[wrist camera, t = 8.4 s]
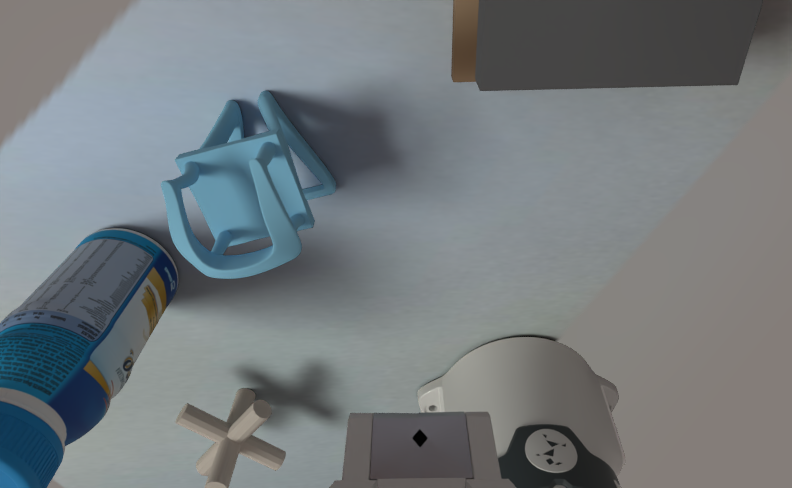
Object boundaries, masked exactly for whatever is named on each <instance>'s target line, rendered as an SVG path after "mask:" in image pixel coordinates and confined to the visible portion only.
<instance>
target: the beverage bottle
mask: <svg viewBox="0 0 792 488" xmlns="http://www.w3.org/2000/svg"><path fill="white" fill-rule="evenodd" d="M177 287H178V271H177V268H176V265H175V263H174V261H173V259H172V258H171V256H170V255H169V253H168V252H167V251H166V250H165V249H164V248H163V247H162V246H161V245H160V244H159V243H157V242H156V241H154V240H153V239H151V238H150V237H148V236H146V235H144V234H141V233H139V232H136V231H133V230H128V229H121V228H110V229H104V230H100V231H97V232H95V233H92V234H91V235H89V236H88V237H86V238H85V239H84V240H83V241H82V242H81V243H80V244H79V245H78V246H77V247H76V249H75V250H74V251H73V252H72V253H71V254H70V255H69V256H68V257H67V258H66V259H65V261H64V262H63V263H62V264H61V265H60V266H59V267H58V268H57V269H56V270H55V271H54V272H53V273H52V274H51V275H50V276H49V277H48V278H47V279H46V280H45V281H44V282H43V283H42V284H41V285H40V286H39V287H38V288H37V289H36V290H35V291H34V292H33V293H32V294H31V295H30V296H29V297H28V298H27V300H26V301H25V302H24V303H23V304H22V305H21V306H20V307H18V308H17V309H15V310H14V311H12V312H11V313H10V314H9V315H8V316H7V317H6V318H5V319H4V320H3V321H2V322H1V323H0V488H47V486H48V484H49V483H50V481H51V479H52V478H53V476H54V475H55V472H56V471H57V469H58V467H59V466H60V464H61V462H62V459H63V455H64V451H65V446H66V445H68V444H70V443H72V442H74V441H75V440H77V439H79V438H80V437H82V436H83V435H85V434H86V433H87V432H89V431H90V430H91V429H92V428H93V427H94V426H95V425H96V424H98V423H99V421H100V420H101V419H102V418H103V417H104V415H105V414H106V412H107V410H108V408H109V405H110V400H111V399H112V398H113V397H115V396H116V395H117V394H118V393H119V392H120V390H121V389H122V388H123V386H124V385H125V383H126V382H127V380H128V378H129V376H130V374H131V371H132V367H133V365H134V363H135V362H136V360H137V358H138V356H139V355H140V353H141V351H142V349H143V347H144V346H145V344H146V342H147V340H148V339H149V337H150V335H151V333H152V332H153V330H154V328H155V326H156V325H157V323H158V321H159V319H160V318H161V316H162V314H163V313H164V311H165V309H166V307H167V306H168V305H169V303H170V302H171V300H172V298H173V297H174V295H175V293H176V291H177Z"/></svg>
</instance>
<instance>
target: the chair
mask: <svg viewBox="0 0 792 488" xmlns="http://www.w3.org/2000/svg"><path fill="white" fill-rule="evenodd" d="M258 106H259V109H260V112H261V114H262V116H263V118H264V121H265V123H266V125H267V127H268V130H269V131H268V132H264V133H260V134H257V135H253V136H250V137H247V138H244V128H243V120H242V115H241V110H240V108H239V105H238V104H237V103H236V102H235V101H233V100H229V101H227V103H226V105H225V107H224V109H223V111H222V113H221V114H220V116H219V118H218V120H217V121H216V123H215V125H214V127H213V128H212V130H211V132H210V133H209V135H208V137H207V138H206V140H205V141H204V143H203V144H202V146H201V147H200V149H198V150H194V151H191V152H187V153H183V154H180V155H179V156H178V157H177V158H176V159H175V162H176V164H177V166H178V167H179V169H180V171H181V173H182V176H180V177H178V178H176V179H174V180H168V181H163V182H162V183H161V187H162V191H163V194H164V198H165V202H166V209H167V217H168V224H169V230H170V234H171V237H172V240H173V243H174V244H175V246H176V248H177V250H178V251H179V252H180V253H181V254H182V256H183V257H184V258H185V259H187V260H188V261H189V262H190V263H191V264H192V265H193V266H195V267H196V268H197V269H198V270H199V271H200V272H202V273H203V274H205V275H206V276H209V277H212V278H222V279H234V278H243V277H249V276H253V275H256V274H260V273H262V272H265V271H268V270H271V269H273V268H275V267H278V266H280V265H282V264H284V263H287V262H289V261H291V260H293V259H294V258H296V257H297V256H298V255H299V254H300V252H301V249H302V244H301V241H300V238H299V236H298V234H297V231H299V230H304V229H308V228H313V225H314V222H315V220H314V218H313V215H312V212H311V210H310V207H309V205H308V202H307V200H310V199H314V198H318V197H322V196H326V195H331V194H333V193H334V192H335V190H336V182H335V180H334V178H333V176H332V175H331V173H330V172H329V170H328V169H327V168H326V167H325V165H324V164H323V163H322V161H321V160H320V159H319V157H318V156H317V155H316V154H315V152H314V151H313V150H312V149H311V147H310V146H309V145H308V144H307V142H306V141H305V140H304V139H303V137H302V136H301V135H300V134H299V132H298V131H297V130H296V128H295V127H294V126H293V125H292V123H291V122H290V121H289V119H288V118H287V117H286V115H285V114H284V112H283V111H282V110H281V108H280V107H279V105H278V103H277V102H276V100H275V99H274V97H273V96H272V94H271V93H270V92H268V91H263V92H261V94H260V96H259V99H258ZM228 140H229V143H227V142H228ZM288 145H289V147H290V148H291V149H292V150H293V151H294V152H295V153H296V155H297V156H298V157H299V158H300V159H301V160H302V161H303V162H304V164H305V165H306V166H307V167H308V168H309V169H310V170H311V172H312V173H313V174H314V175H315V176H316V177H317V178H318V180H319V181H320V182H321V183H322V185H319V186H315V187H310V188H306V189H302V188H301V185H300V182H299V179H298V176H297V172H296V169H295V166H294V163H293V160H292V157H291V154H290V150H289V147H288ZM186 187H189V188H190V190H191V192H192V194H193V195H194V197H195V199H196V201H197V203H198V205H199V207H200V209H201V211H202V213H203V215H204V217H205V219H206V221H207V224H208V226H209V228H210V230H211V232H212V234H213V236H214V238H215V240H216V241H215V244H214V246H213V248H212V251H209V250H207V249H206V248H205V247H204V246H202V244H201V243H200V242H199V241H198V240H197V238H196V237H195V235H194V234H193V232H192V230H191V227H190V225H189V222H188V219H187V215H186V212H185V208H184V204H183V198H182V193H181V189H183V188H186ZM266 237H271V239H272V243H273V245H272V246H270V247H267V248H265V249H262V250H259V251H255V252H251V253H246V254H241V255H229V256H224V255H223V254H224V252H225V251H226V249H227V247H230V246H234V245H238V244H242V243H246V242H249V241H253V240H257V239H261V238H266Z"/></svg>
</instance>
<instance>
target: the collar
mask: <svg viewBox="0 0 792 488" xmlns="http://www.w3.org/2000/svg"><path fill="white" fill-rule="evenodd" d="M762 3H763V0H479V8H478V28H477V48H476V69H475V80H476V82H477V85H478V87H479V89H480V91H499V90H541V89H583V88H625V87H668V86H710V85H738V82H739V79H740V76H741V72H742V69H743V66H744V62H745V59H746V56H747V52H748V49H749V46H750V42H751V39H752V36H753V33H754V29H755V26H756V23H757V19H758V16H759V13H760V9H761V6H762Z"/></svg>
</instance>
